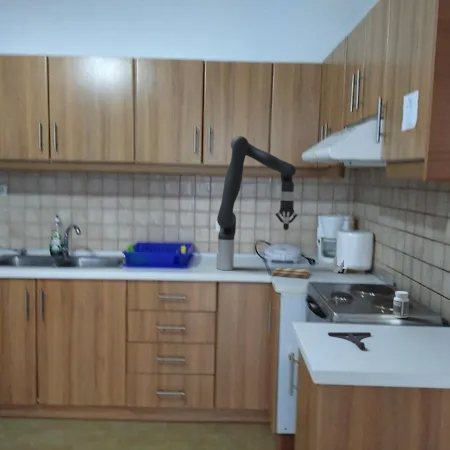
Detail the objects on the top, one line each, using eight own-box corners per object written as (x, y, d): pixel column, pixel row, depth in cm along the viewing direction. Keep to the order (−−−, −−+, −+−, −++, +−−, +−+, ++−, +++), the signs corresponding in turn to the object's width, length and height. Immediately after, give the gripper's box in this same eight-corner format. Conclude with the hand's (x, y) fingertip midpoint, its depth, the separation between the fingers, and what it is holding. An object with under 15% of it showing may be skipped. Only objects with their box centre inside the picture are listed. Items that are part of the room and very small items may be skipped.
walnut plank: (272, 276, 262) (272, 272, 261) (274, 273, 268) (274, 269, 268) (305, 278, 257) (306, 274, 256) (307, 276, 263) (307, 272, 263)
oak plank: (275, 273, 270) (275, 269, 269) (277, 270, 276) (277, 267, 276) (307, 275, 265) (308, 272, 264) (309, 273, 271) (309, 269, 271)
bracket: (340, 352, 152) (340, 343, 152) (327, 336, 167) (328, 328, 167) (385, 352, 153) (385, 344, 153) (369, 336, 168) (369, 328, 167)
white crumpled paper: (328, 267, 290) (334, 252, 289) (335, 270, 290) (341, 254, 290) (336, 273, 273) (343, 256, 273) (344, 276, 274) (351, 259, 273)
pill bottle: (405, 315, 193) (406, 290, 192) (410, 319, 187) (412, 294, 186) (390, 314, 193) (392, 290, 192) (395, 319, 187) (397, 293, 186)
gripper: (274, 199, 275) (273, 230, 277) (297, 200, 271) (296, 231, 273) (276, 199, 282) (275, 228, 284) (299, 199, 278) (298, 229, 280)
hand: (286, 229), depth 278 cm, fingers closed
